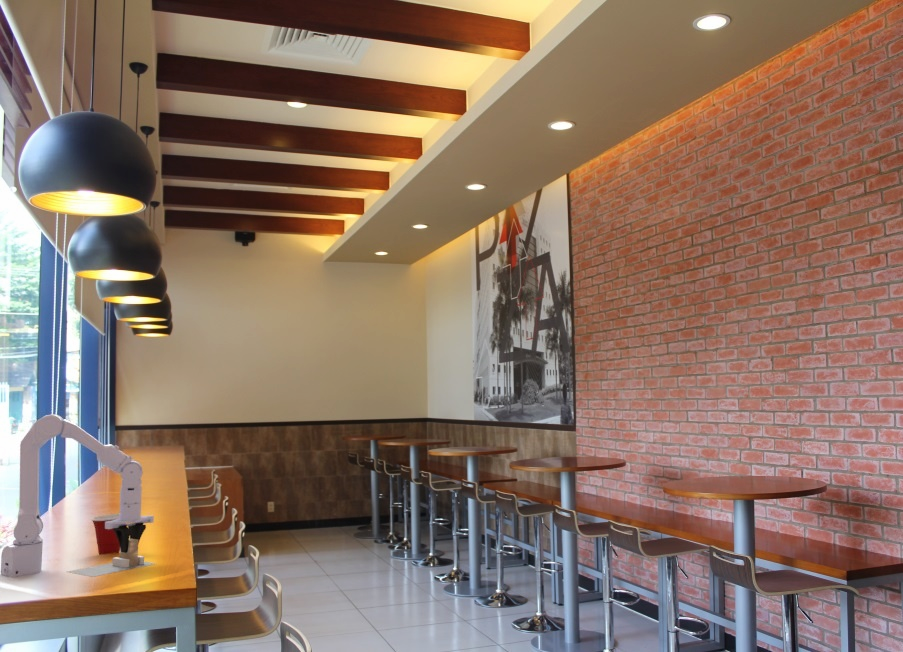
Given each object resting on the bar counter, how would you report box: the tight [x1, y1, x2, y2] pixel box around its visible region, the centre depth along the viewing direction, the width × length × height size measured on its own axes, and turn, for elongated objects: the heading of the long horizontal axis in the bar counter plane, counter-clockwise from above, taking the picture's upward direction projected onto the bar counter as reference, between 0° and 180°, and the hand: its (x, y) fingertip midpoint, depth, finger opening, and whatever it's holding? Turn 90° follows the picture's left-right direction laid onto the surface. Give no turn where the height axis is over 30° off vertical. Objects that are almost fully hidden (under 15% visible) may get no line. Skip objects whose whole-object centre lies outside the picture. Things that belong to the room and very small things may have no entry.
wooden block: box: [119, 537, 139, 566], centre depth 226 cm, size 2×5×7 cm, turn 57°
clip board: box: [66, 555, 157, 578], centre depth 221 cm, size 20×12×3 cm, turn 147°
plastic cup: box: [90, 513, 120, 556], centre depth 246 cm, size 11×11×12 cm
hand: (128, 551), depth 226 cm, fingers closed on wooden block, 2 cm apart
